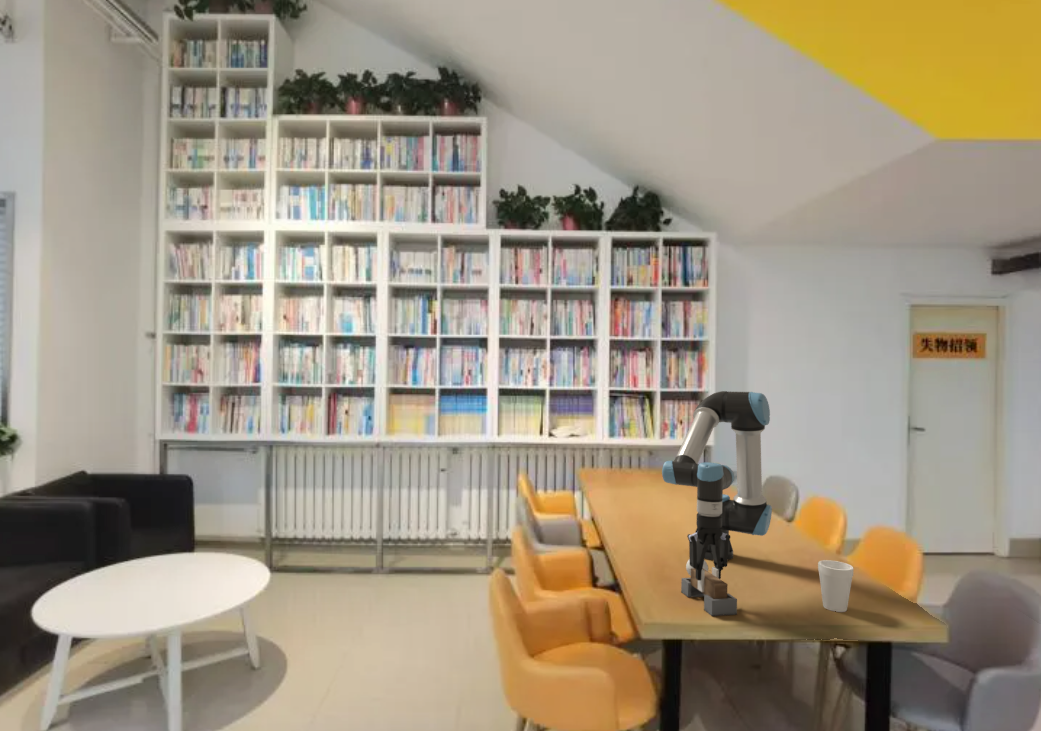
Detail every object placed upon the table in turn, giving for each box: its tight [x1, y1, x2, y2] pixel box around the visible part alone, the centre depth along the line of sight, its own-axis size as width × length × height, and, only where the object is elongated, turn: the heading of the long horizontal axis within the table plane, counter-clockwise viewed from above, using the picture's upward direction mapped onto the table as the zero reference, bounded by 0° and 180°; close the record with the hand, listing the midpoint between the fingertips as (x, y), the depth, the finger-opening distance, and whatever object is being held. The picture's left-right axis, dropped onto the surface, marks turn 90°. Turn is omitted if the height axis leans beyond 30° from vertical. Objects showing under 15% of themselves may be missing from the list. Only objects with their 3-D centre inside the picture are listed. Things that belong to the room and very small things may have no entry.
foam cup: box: [817, 559, 854, 613], centre depth 181 cm, size 10×9×13 cm
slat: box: [690, 568, 728, 599], centre depth 182 cm, size 15×4×5 cm, turn 11°
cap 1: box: [680, 577, 705, 598], centre depth 190 cm, size 4×8×4 cm, turn 102°
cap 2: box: [703, 592, 738, 617], centre depth 175 cm, size 4×8×4 cm, turn 102°
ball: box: [685, 559, 710, 577], centre depth 203 cm, size 10×7×7 cm
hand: (707, 589), depth 183 cm, fingers closed on slat, 4 cm apart
